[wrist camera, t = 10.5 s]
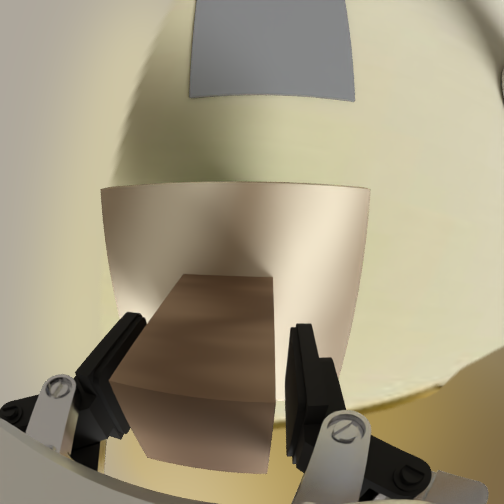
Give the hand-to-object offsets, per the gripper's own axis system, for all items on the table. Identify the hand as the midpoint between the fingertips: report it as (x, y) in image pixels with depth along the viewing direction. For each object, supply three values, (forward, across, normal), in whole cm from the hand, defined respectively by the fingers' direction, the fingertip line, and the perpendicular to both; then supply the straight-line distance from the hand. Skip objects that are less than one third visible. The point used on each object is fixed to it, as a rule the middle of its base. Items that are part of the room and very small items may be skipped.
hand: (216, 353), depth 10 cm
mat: (+15, -2, -20) cm, 25 cm away
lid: (+4, 0, 0) cm, 4 cm away
